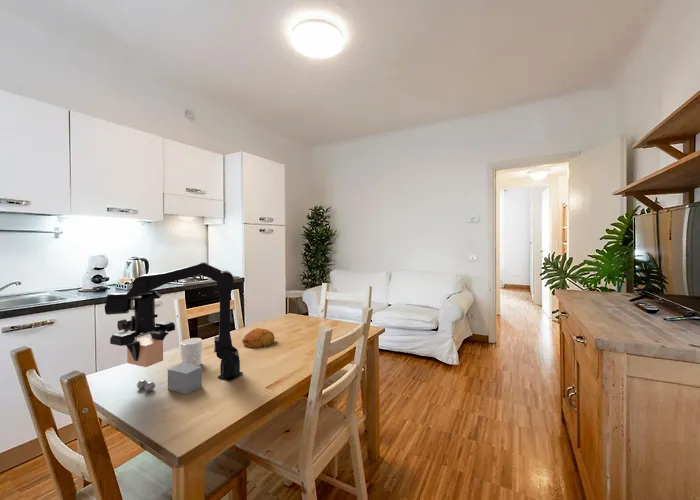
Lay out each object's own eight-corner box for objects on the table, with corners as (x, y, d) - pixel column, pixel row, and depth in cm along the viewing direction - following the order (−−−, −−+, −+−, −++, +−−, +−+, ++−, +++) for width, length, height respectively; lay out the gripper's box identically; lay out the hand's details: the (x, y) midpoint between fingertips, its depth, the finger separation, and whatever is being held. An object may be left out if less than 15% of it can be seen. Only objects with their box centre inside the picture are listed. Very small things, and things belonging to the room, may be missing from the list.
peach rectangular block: (163, 360, 104) (162, 340, 104) (145, 367, 99) (145, 346, 98) (145, 356, 107) (144, 337, 107) (127, 363, 102) (127, 342, 102)
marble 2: (157, 389, 103) (157, 381, 103) (148, 393, 101) (148, 385, 101) (151, 388, 105) (151, 379, 104) (142, 392, 102) (142, 383, 102)
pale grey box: (201, 386, 106) (201, 366, 106) (187, 394, 101) (186, 373, 100) (183, 381, 109) (182, 362, 109) (167, 389, 104) (167, 369, 104)
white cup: (193, 370, 119) (193, 345, 119) (176, 368, 121) (175, 343, 121) (206, 362, 127) (206, 338, 127) (190, 360, 129) (190, 337, 128)
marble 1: (149, 387, 105) (149, 379, 105) (140, 391, 102) (140, 383, 102) (143, 386, 106) (143, 377, 106) (134, 390, 103) (134, 381, 103)
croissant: (260, 340, 161) (259, 325, 161) (280, 342, 152) (278, 326, 152) (236, 347, 149) (235, 331, 150) (255, 350, 140) (254, 332, 141)
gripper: (154, 304, 114) (155, 345, 115) (98, 316, 97) (99, 364, 97) (176, 307, 110) (176, 349, 111) (121, 319, 93) (122, 369, 93)
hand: (145, 357), depth 103 cm, fingers closed on peach rectangular block, 6 cm apart
